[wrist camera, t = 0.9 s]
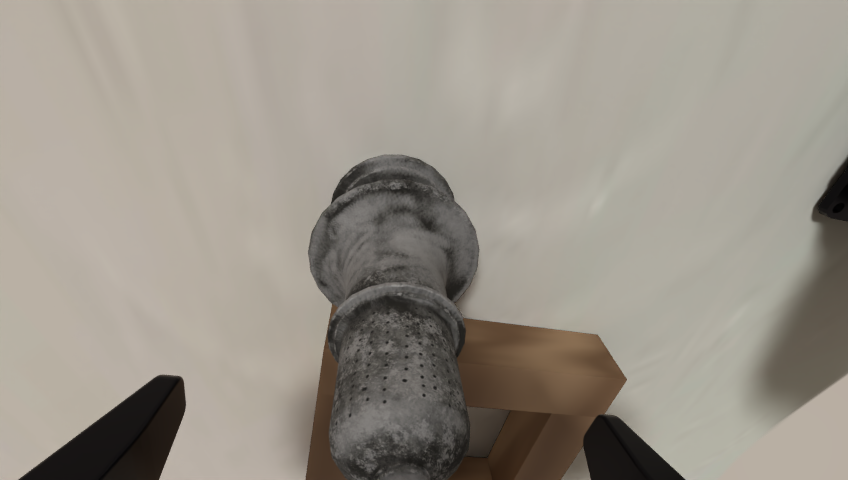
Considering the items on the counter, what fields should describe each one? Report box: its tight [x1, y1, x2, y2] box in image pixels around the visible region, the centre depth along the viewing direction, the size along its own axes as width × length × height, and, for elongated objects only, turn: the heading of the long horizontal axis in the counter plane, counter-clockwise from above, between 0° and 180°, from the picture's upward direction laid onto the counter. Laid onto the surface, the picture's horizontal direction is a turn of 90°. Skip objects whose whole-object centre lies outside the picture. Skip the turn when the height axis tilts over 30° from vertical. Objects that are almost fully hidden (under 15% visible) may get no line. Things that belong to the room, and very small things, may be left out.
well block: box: [306, 304, 627, 480], centre depth 22 cm, size 14×14×3 cm
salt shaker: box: [308, 155, 479, 480], centre depth 12 cm, size 6×6×12 cm
